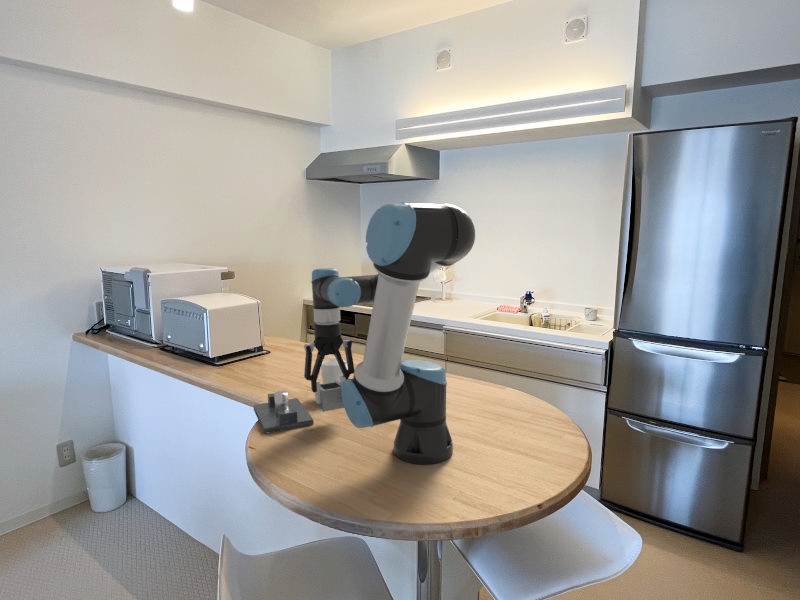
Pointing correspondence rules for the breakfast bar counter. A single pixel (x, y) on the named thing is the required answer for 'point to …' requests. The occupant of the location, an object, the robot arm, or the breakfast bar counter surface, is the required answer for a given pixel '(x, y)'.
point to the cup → (331, 370)
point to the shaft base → (282, 413)
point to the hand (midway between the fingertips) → (331, 399)
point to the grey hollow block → (330, 396)
